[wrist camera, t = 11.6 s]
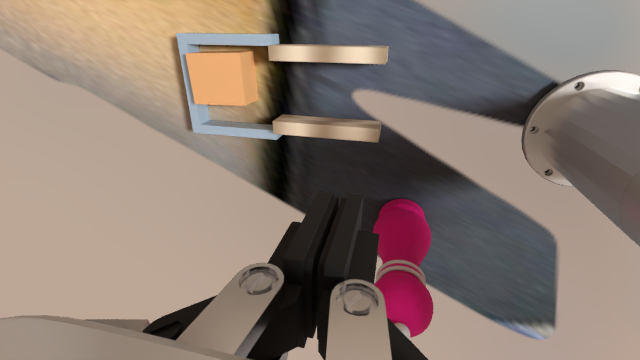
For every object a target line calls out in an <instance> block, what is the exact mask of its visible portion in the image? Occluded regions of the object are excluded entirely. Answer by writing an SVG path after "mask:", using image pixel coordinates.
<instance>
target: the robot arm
mask: <svg viewBox="0 0 640 360" xmlns="http://www.w3.org/2000/svg"><path fill="white" fill-rule="evenodd" d="M576 83H578V85H577V86H576V87H574V86H575V84H576ZM639 88H640V75H637V74H634V73H631V72H625V71H618V70H602V71H595V72H590V73H586V74H583V75H579V76H576V77H574V78H572V79H570V80H567V81H565V82H563V83H562V84H560V85H558V86H557V87H555V88H554V89H552V90H551V91H550V92H549V93H547V94H546V95H545V96H544V97H543V98H542V99H541V100H540V101H539V102H538V103H537V104H536V106H535V107H534V108H533V109H532V111H531V113H530V114H529V116H528V118H527V120H526V122H525V125H524V128H523V133H522V150H523V152H524V155H525V158H526V160H527V161H528V162H529V165H530V166H531V167H532V168H533V169H534V170H535V171H536V173H538V174H539V175H540V176H541V177H543V178H544V179H546V180H549V181H551V182H553V183H556V184H559V185H563V186H570V187H575V188H576V189H577V190H578V191H580V192H581V193H582V194H583V195H584V196H585V197H586V198H587V199H588V200H589V201H591V203H593V204H594V205H595V206H596V207H597V208H598V209H599V210H600V211H601V212H603V214H604V215H606V216H607V217H608V218H609V219H610V220H611V221H612V222H613V223H614V224H615V225H616V226H618V227H619V228H620V229H621V230H622V231H623V232H624V233H625V234H626V235H627V236H628V237H629V238H630V239H632V240H633V241H634V242H635V243H636V244H637V245H639V246H640V89H639ZM533 126H534V128H533V129H532V130H530V129H531V128H532V127H533ZM547 169H548V170H547ZM545 170H547V171H545ZM338 203H339V199H338V197H334V194H333V193H330V192H321V191H319V192H318V193H317V195H316V197H315V199H314V201H313V202H312V204H311V206H310V208H309V210H308V212H307V214H306V216H305V218H304V219H303V221H302V223H300V222H292V223H291V224H290V226H289V228H288V230H287V231H286V233H285V235H284V236H283V238H282V240H281V241H280V243H279V245H278V246H277V248H276V250H275V252H274V253H273V255H272V257H271V258H270V260H269V262H268V263H257V264H253V265H249V266H247V267H245V268H243V269H242V270H241V271H240V272H239V273H237V275H236V276H235V277H234V278H233V279H232V280H231V281H230V282H229V283H228V284H227V285H226V286H225V287H224V289H223V290H222V291H221V292H220V293H219V294H218V295H216V296H214V297H211V298H209V299H206V300H204V301H201V302H199V303H196V304H193V305H191V306H189V307H186V308H183V309H181V310H178V311H176V312H173V313H171V314H168V315H165V316H163V317H161V318H159V319H157V320H155V321H154V322H152V323H151V324H149V321H148V320H124V319H123V320H122V319H121V320H119V319H115V320H114V319H111V320H109V319H107V320H105V319H103V320H101V319H97V320H95V319H94V320H93V319H91V320H90V319H86V320H81V319H75V318H69V317H59V316H47V315H42V316H16V317H8V318H1V319H0V360H287V357H288V351H290V350H292V349H294V348H296V347H302V348H304V347H305V343H306V340H307V337H309V338H313V336H314V333H315V330H316V327H317V339H318V340H319V341H318V342H319V344H318V350H319V353H320V354H321V356H322V358H323V359H324V360H428V359H427V358H426V357H425V356H424V355H423V354H422V353H421V352H420V351H419V349H418V348H417V347H416V346H415V345H414V344H413V343H412V342H411V341H410V340H409V339H408V338H407V337H406V336H405V335H404V334H403V333H402V332H401V331H400V330H399V329H398V328H397V327H396V326H395V325H394V323H393V322H392V321H391V320H390V319H389V318H388V317H387V315H386V307H385V300H384V297H383V294H382V293H381V291H380V290H379V289H378V288H377V287H376V286H374V279H375V271H376V262H377V253H378V244H379V235H380V234H377V233H370V232H363V231H361V223H362V209H363V196H355V195H348V197H347V198H342V200H341V203H340V205H339V208H338Z"/></svg>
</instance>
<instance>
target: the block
mask: <svg viewBox="0 0 640 360" xmlns="http://www.w3.org/2000/svg"><path fill="white" fill-rule="evenodd" d="M185 54H186V60H187V65H188V70H189V75H190V81H191V86H192V91H193V96H194V102H195V104H206V105H238V106H246V105H248V104H250V103H252V102H255V101H257V100H258V93H257V84H256V74H255V65H254V55H253V51H203V52H194V53H185Z"/></svg>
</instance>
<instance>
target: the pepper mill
mask: <svg viewBox="0 0 640 360" xmlns="http://www.w3.org/2000/svg"><path fill="white" fill-rule="evenodd" d="M373 233H377V234H380V235H379V244H378V254H379V256H380V257H381V259H382V261H383V265H382V266H381V267H380V268H379V269H378V272H377V275H376V283H375V284H374V286H376V287H377V288H378V289H379V290H380V291H381V293H382V294H383V297H384V300H385V307H386V315H387V317H388V318H389V319H390V320H391V321H392V322H393V323H394V325H395V326H396V327H397V328H398V329H399V330H400V331H401V332H402V333H403V334H404V335H405V336H406V337H407V338H408V339H410V337H414V336H417V335H419V334H421V333H422V332H423V331H424V330H425V329H426V328H427V327H428V325H429V324H430V322H431V319H432V315H433V302H432V298H431V296H430V293H429V291H428V290H427V288H426V284H425V276H424V273H423V272H422V270H421V269H420V268H419V266H420V263H421V262H422V260H423V259H424V257H425V256H426V254H427V252H428V250H429V247H430V244H431V231H430V228H429V226H428V224H427V222H426V221H425V215H424V212H423V210H422V208H421V207H420V206H419V205H418V204H416V203H415V202H413V201H411V200H408V199H395V200H391V201H389V202H387V203H386V204H385V205H384V206H383V207H382V208H381V210H380V212H379V218H378V220H377V221H376V223H375V225H374V228H373Z"/></svg>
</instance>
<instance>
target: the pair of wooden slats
mask: <svg viewBox="0 0 640 360" xmlns="http://www.w3.org/2000/svg"><path fill="white" fill-rule="evenodd" d="M268 52H269V61H296V62H329V63H363V64H386V62H387V57H388V46H358V45H303V44H275V45H268ZM380 131H381V121H370V120H355V119H340V118H326V117H311V116H296V115H281V116H280V117H278V118H277V119H275V120H274V121H273V134H281V135H294V136H306V137H318V138H330V139H342V140H354V141H366V142H378V141H379V137H380Z"/></svg>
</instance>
